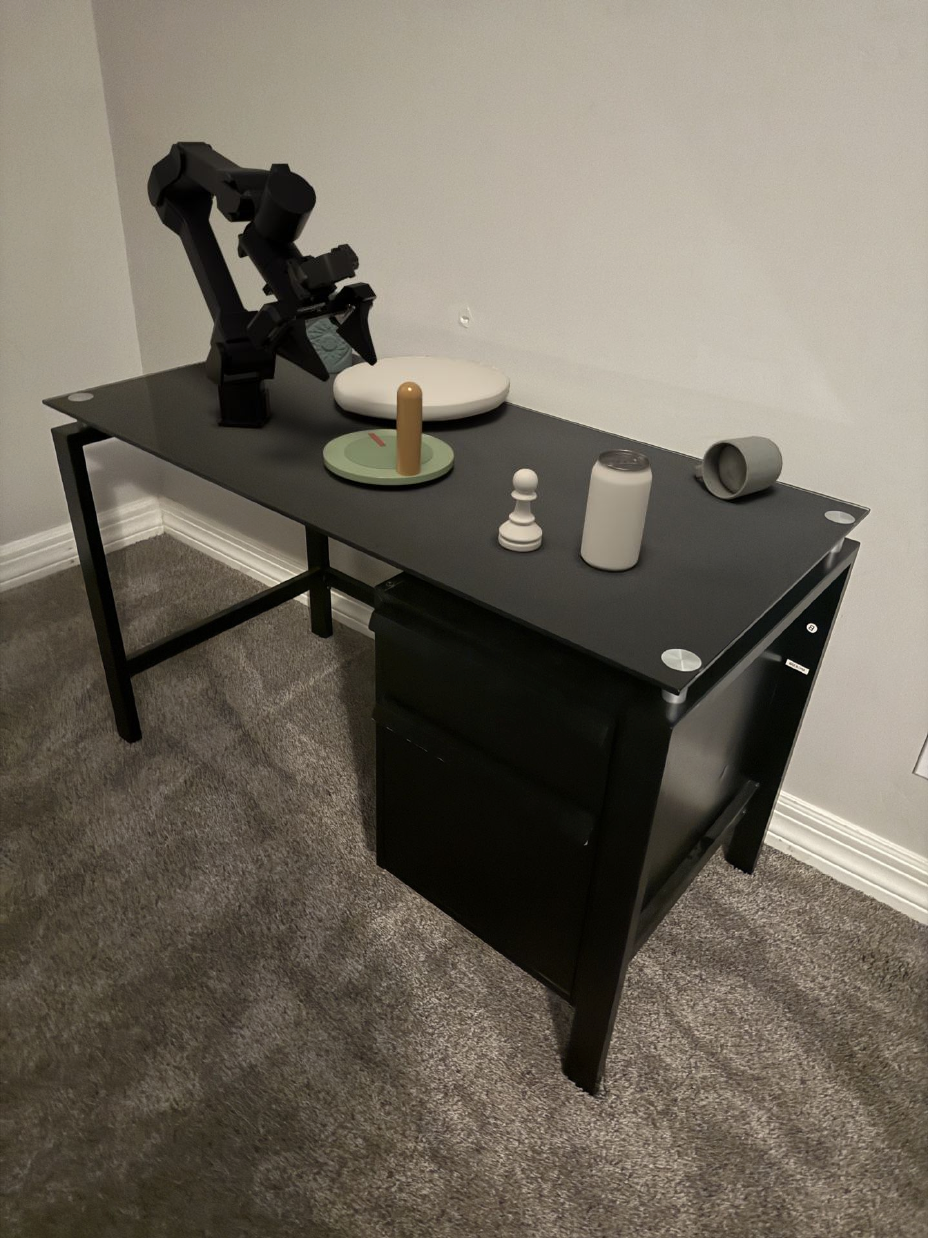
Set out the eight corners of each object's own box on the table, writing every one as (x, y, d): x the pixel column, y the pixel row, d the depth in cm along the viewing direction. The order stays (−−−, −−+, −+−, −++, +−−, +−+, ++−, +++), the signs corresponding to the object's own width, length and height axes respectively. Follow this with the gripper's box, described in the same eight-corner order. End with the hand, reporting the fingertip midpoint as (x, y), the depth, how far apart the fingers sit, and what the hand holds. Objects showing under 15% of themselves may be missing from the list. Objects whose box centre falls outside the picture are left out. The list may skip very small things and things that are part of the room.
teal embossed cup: (331, 377, 151) (329, 305, 144) (286, 366, 155) (282, 296, 149) (366, 364, 158) (365, 295, 152) (322, 354, 162) (319, 287, 156)
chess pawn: (539, 533, 103) (547, 462, 99) (542, 553, 99) (550, 479, 94) (497, 531, 103) (503, 460, 98) (498, 551, 99) (504, 477, 94)
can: (575, 545, 101) (588, 447, 95) (629, 545, 102) (646, 448, 95) (586, 572, 96) (600, 470, 89) (643, 573, 96) (662, 471, 90)
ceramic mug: (780, 495, 116) (793, 440, 112) (740, 508, 112) (753, 451, 108) (718, 469, 124) (728, 416, 120) (678, 480, 119) (688, 426, 115)
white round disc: (312, 394, 128) (351, 347, 150) (319, 436, 131) (355, 385, 154) (503, 389, 125) (513, 342, 147) (504, 433, 128) (514, 380, 151)
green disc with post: (306, 443, 121) (302, 352, 115) (423, 430, 128) (425, 343, 122) (348, 492, 108) (345, 393, 101) (475, 474, 115) (481, 380, 108)
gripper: (257, 229, 96) (336, 349, 97) (364, 214, 110) (433, 320, 111) (214, 291, 104) (288, 402, 105) (319, 270, 117) (384, 369, 118)
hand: (351, 371), depth 110 cm, fingers open, 9 cm apart
